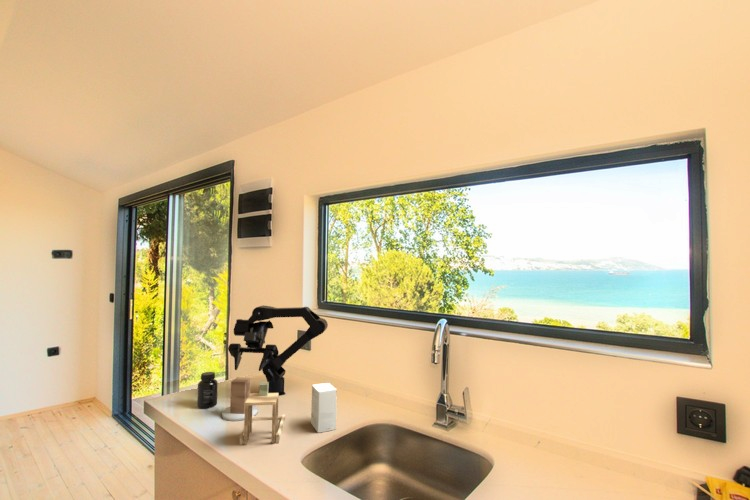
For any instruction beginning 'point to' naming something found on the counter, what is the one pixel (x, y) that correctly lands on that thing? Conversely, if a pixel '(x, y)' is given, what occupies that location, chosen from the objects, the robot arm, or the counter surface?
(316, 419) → the small box
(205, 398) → the supplement bottle
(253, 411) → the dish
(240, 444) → the track
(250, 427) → the wooden toy stool
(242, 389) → the walnut block
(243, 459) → the counter surface
